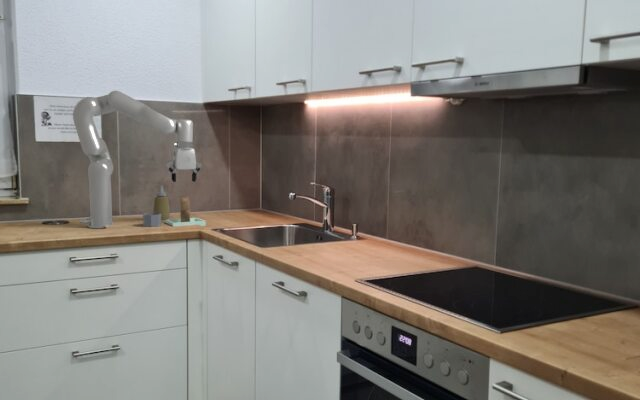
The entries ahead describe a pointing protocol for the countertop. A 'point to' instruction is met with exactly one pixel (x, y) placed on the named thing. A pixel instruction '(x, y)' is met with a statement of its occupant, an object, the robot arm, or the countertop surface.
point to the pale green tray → (192, 222)
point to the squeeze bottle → (161, 204)
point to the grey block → (152, 220)
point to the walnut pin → (185, 208)
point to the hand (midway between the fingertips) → (184, 181)
